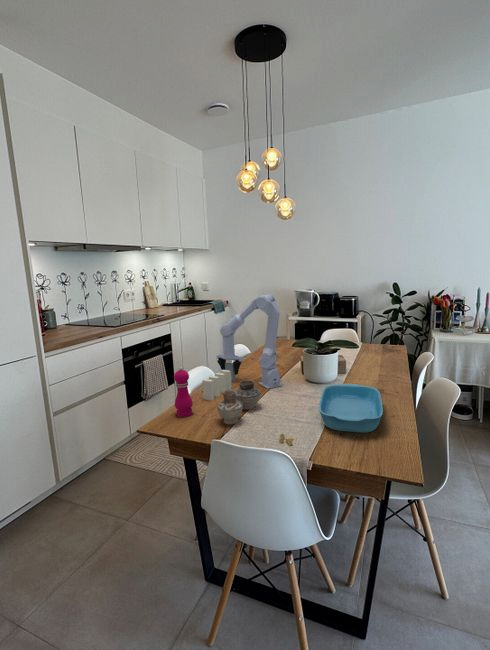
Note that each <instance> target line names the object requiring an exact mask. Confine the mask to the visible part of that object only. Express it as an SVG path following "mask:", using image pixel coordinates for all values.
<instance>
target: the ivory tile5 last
mask: <svg viewBox="0 0 490 650" xmlns="http://www.w3.org/2000/svg"><path fill="white" fill-rule="evenodd" d="M202 392H203V400H206V401H209V402H213V401H214V400H215V396H214V384H213V380H209V378H208V379H207V378H203V379H202Z"/></svg>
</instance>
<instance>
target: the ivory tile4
mask: <svg viewBox="0 0 490 650" xmlns="http://www.w3.org/2000/svg"><path fill="white" fill-rule="evenodd" d="M208 379H209V380H213V384H214V398H220V397H221V393H220V378H219V377H216V376H215V375H210V376H208Z"/></svg>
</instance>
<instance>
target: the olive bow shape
mask: <svg viewBox="0 0 490 650" xmlns="http://www.w3.org/2000/svg"><path fill="white" fill-rule="evenodd" d="M279 436H280V437H279V438H278V440H279V443H280V444H283V443H284V442H285V443H287V446H289V447H292V446H293V440H294V438H293V437H285V433H280V435H279Z"/></svg>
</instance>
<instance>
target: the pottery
mask: <svg viewBox="0 0 490 650" xmlns="http://www.w3.org/2000/svg"><path fill="white" fill-rule="evenodd" d="M238 383H239V385H238V387H239V388H237V389H231V390H227V389H226V390H225V391H223V392H222V393H221V394H222V395H223V400H221V401H220V402H219V403H218V404H217V406H216V409H217V411H218V414H219V416H220V417H221V418H223V423H224V424H225V425H236V424H237V423H238V422H239V417H240V416H241V414H242V412H243V410H253V409H254V408H255V405H256V404H257V403H258V402H259V400H260V398H261V394H262V393H261V391H260V389H258V388H257V387H255V382H254V380H251V379H250V380H249V379H246V380H245V379H244V380H241V381H239V382H238Z"/></svg>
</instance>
